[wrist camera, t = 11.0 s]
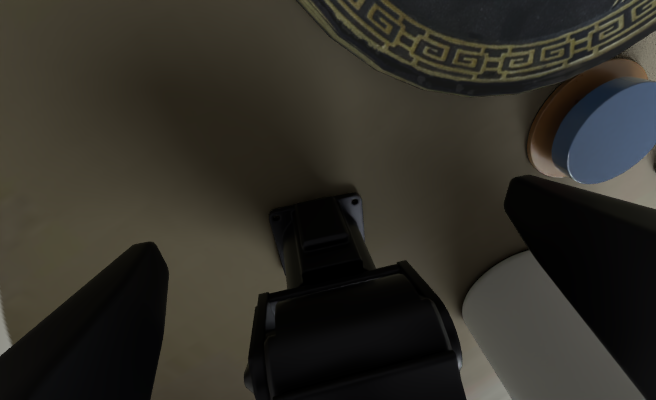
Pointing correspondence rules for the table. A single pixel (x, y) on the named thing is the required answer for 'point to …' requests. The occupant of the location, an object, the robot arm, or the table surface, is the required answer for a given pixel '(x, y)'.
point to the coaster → (564, 101)
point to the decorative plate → (484, 39)
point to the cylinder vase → (539, 337)
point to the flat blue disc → (607, 131)
